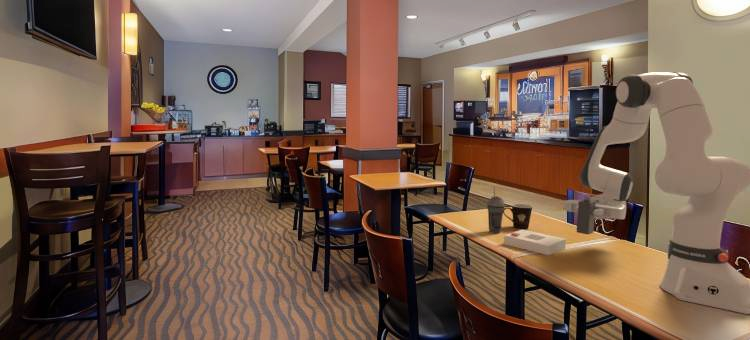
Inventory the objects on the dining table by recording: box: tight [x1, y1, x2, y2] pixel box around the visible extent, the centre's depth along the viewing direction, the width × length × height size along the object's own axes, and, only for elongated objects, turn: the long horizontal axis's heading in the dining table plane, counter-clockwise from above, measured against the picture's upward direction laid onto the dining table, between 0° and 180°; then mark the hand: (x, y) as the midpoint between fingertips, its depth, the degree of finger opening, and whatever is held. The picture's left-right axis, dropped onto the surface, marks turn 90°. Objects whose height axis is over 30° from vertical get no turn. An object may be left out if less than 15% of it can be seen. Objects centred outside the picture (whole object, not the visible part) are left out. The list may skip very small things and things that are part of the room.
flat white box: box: [503, 229, 567, 256], centre depth 166 cm, size 18×14×4 cm
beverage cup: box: [486, 185, 506, 234], centre depth 185 cm, size 7×7×20 cm
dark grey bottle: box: [576, 195, 596, 235], centre depth 151 cm, size 4×4×13 cm
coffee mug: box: [503, 203, 533, 230], centre depth 195 cm, size 12×9×10 cm
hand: (585, 211), depth 151 cm, fingers closed on dark grey bottle, 4 cm apart
